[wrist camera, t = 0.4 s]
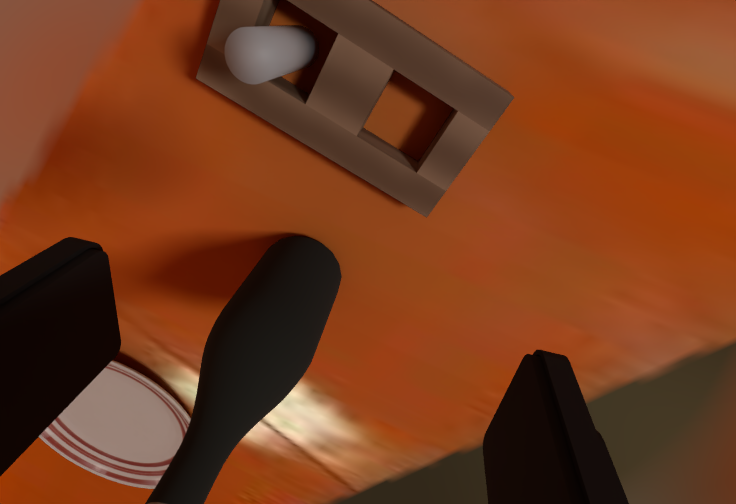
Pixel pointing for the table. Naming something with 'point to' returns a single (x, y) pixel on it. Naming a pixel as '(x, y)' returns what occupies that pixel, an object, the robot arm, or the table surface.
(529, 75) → the table surface
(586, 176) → the table surface
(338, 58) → the walnut hole block
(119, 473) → the dinner plate
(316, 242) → the wine bottle
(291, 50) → the grey peg
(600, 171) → the table surface
